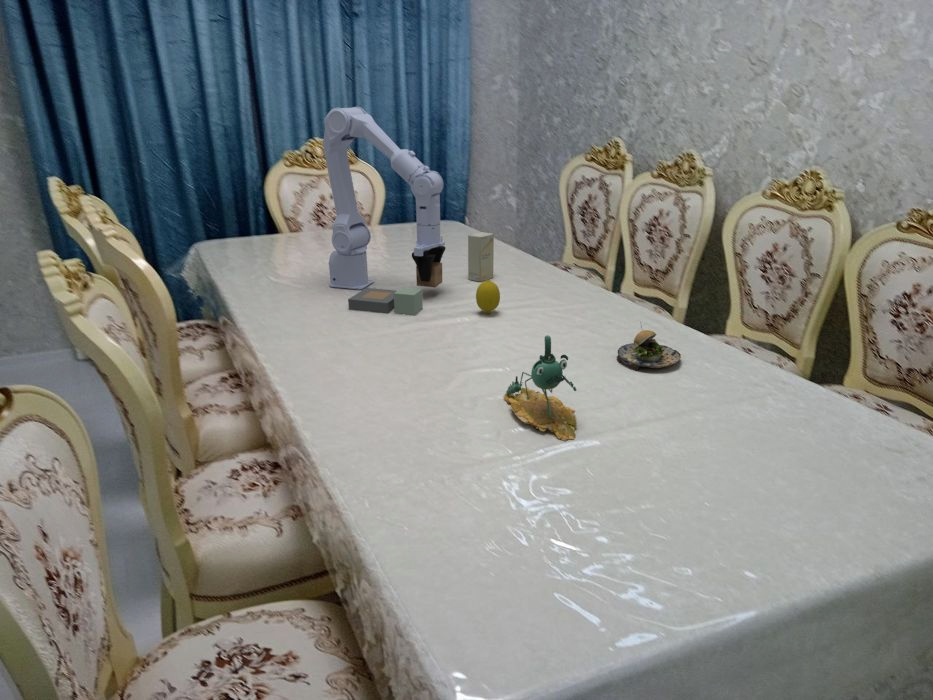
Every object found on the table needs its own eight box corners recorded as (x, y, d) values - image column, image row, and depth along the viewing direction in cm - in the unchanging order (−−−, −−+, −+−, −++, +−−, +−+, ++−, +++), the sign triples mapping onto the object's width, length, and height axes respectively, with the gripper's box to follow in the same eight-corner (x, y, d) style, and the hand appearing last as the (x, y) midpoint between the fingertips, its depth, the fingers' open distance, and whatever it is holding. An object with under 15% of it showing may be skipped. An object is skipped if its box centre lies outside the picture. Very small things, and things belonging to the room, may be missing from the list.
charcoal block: (348, 311, 156) (348, 299, 155) (367, 299, 165) (366, 287, 164) (387, 315, 153) (387, 303, 152) (404, 303, 162) (404, 291, 161)
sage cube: (394, 314, 153) (393, 293, 151) (403, 307, 157) (402, 287, 155) (414, 316, 151) (414, 295, 150) (422, 309, 156) (422, 289, 154)
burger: (635, 377, 120) (638, 339, 117) (605, 354, 130) (608, 318, 128) (693, 370, 123) (698, 332, 120) (659, 347, 133) (663, 312, 130)
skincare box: (480, 282, 177) (480, 237, 172) (467, 279, 179) (467, 235, 175) (494, 277, 181) (494, 233, 177) (481, 274, 184) (481, 231, 179)
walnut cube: (416, 285, 164) (416, 266, 162) (423, 280, 169) (423, 261, 167) (435, 287, 163) (435, 267, 161) (442, 282, 167) (442, 262, 165)
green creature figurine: (541, 388, 115) (550, 310, 108) (596, 446, 101) (611, 361, 94) (491, 396, 112) (497, 317, 105) (540, 458, 97) (551, 370, 90)
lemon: (471, 315, 152) (471, 281, 149) (482, 308, 156) (482, 275, 153) (493, 318, 149) (493, 284, 146) (503, 311, 154) (504, 278, 151)
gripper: (433, 230, 153) (434, 287, 158) (453, 219, 165) (453, 272, 170) (405, 228, 155) (406, 284, 160) (427, 217, 167) (428, 269, 172)
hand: (429, 278), depth 165 cm, fingers closed on walnut cube, 5 cm apart
